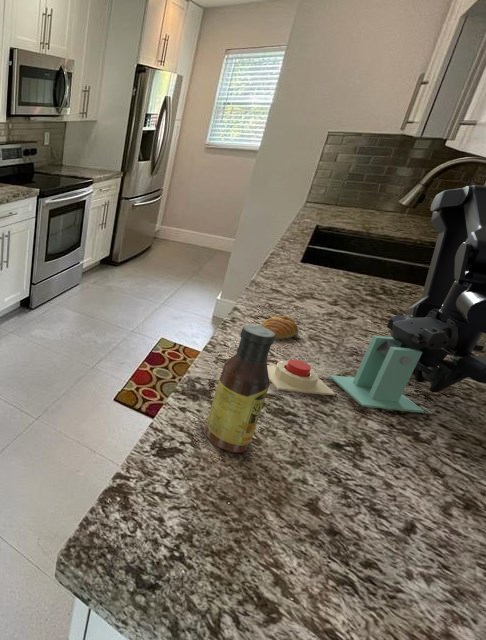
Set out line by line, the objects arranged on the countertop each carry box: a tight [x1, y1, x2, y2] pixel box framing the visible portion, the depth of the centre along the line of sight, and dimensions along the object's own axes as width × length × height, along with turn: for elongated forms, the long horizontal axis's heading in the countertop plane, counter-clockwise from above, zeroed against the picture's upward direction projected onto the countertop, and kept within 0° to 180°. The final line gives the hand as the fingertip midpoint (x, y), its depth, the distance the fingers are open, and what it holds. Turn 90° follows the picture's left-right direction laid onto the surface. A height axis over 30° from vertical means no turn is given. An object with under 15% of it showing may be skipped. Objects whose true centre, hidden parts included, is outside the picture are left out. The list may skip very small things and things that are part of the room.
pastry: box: [261, 314, 299, 340], centre depth 99 cm, size 9×7×4 cm
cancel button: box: [286, 358, 312, 377], centre depth 80 cm, size 4×4×2 cm
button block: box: [267, 360, 336, 396], centre depth 80 cm, size 10×8×3 cm
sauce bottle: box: [205, 324, 275, 454], centre depth 62 cm, size 7×6×20 cm
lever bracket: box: [329, 335, 425, 414], centre depth 76 cm, size 10×9×12 cm
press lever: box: [377, 341, 439, 383], centre depth 74 cm, size 12×3×3 cm, turn 83°
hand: (426, 386), depth 76 cm, fingers closed on press lever, 3 cm apart
